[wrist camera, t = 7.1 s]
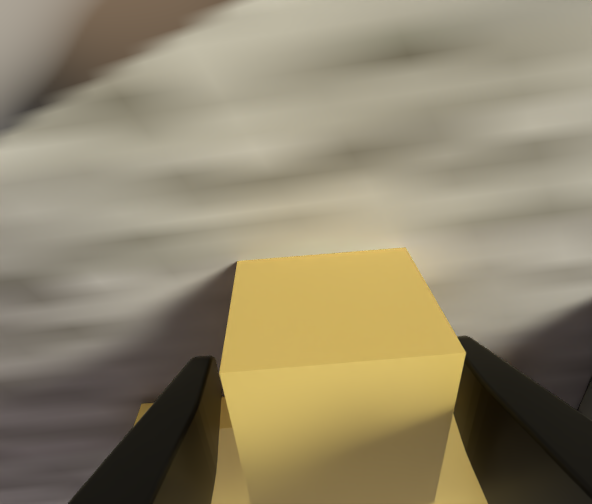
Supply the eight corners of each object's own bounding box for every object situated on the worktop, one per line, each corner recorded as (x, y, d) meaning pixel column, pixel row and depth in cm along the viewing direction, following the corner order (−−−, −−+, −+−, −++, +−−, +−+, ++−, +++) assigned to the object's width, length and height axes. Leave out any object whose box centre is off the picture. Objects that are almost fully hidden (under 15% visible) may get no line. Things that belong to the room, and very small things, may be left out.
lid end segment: (464, 522, 14) (506, 634, 12) (201, 545, 14) (184, 661, 12) (550, 235, 8) (680, 334, 6) (90, 273, 8) (3, 391, 5)
